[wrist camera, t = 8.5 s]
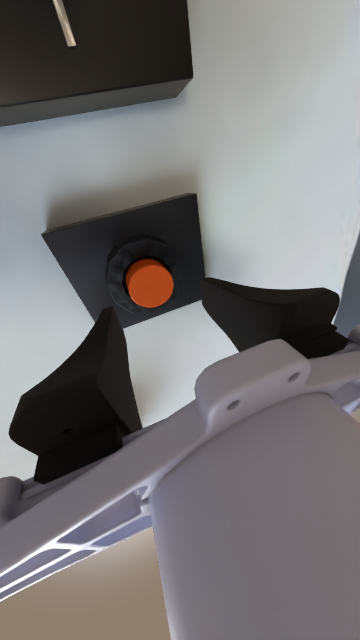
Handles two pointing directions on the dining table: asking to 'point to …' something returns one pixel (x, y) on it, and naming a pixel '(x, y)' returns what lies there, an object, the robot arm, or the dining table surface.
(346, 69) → the dining table surface
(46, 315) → the dining table surface
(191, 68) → the dial panel
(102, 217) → the button housing
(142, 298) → the button
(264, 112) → the dining table surface
